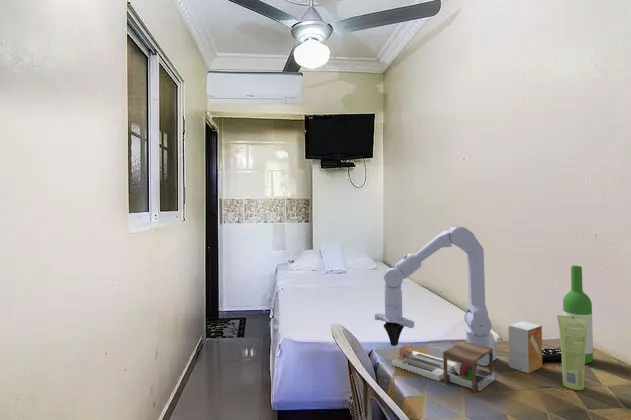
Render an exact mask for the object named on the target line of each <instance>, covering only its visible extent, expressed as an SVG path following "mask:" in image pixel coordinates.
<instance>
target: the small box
mask: <svg viewBox="0 0 631 420" xmlns="http://www.w3.org/2000/svg"><path fill="white" fill-rule="evenodd" d="M542 329H543V326H542V325H540V324H537V323H532V322H528V321H523V320H522V321H519V322H515V323H512V324H509V325H508V329H507V330H508V367H509V368H511V369H514V370H517V371H520V372H523V373H526V374H530V373H532V372H535V371H536V370H540V369H541V367H542V368H543V331H542Z"/></svg>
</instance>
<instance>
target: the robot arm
mask: <svg viewBox="0 0 631 420" xmlns="http://www.w3.org/2000/svg"><path fill="white" fill-rule="evenodd" d="M453 245H454V246H456V247H458V248H459V249H460V250H462V251H463V252H464V253H465V254H466V255H467V256H466V258H467V287H468V288H467V290H468V303H467V305H466V312H465V314H464V322H465V323H466V325H467V327H466V329H465V340H466V341H465V342H468V343H472V344H477V345H481V346H485V347H489V348H493V362H494V361H496V359H498V356H497V355H495V337H494V335H493V333H492V332H491V331H492V326H493V325H492V321H491V320H490V318H489V311H488V309H487V305H486V284H485V283H486V281H485V252H484V251H485V250H484V247H483V246H482V244H481V243H480V242H479V240H478V238H477V237H476V236H475V233H473V232H472V231H471V230H469V229H468V228H466V227H464V226H459V225H451V226H450V227H448V228H447V230H443V231H441V232H440V233H439V234H437V235H436V236H435V237H434V238H432V239H431V240H430V241H429V242H428V243H426V244H425V245H424V246H423V247H422V248H420V249H419V251H417V252H416V253H408V254H404V255H402V259H401V260H399V261H398V262H397V263H395V264H394V263H393V264H392V265H391V267H389V268H387V269H386V270H385V271H384V274H383V279H384V282H385V285H384V313H379V312H377V313H375V314H374V320H375V321H381V322H385V323H384V324H383V329H384V330H385V331H386V334H387V335H388V338H389V342H390V346H392V347H396V346H398V345H399V341H400V340H399V339H400V336H401V334H402V331H403V329H404V327H407V328H409V329H414V328H415V321H414V320H411V319H408V318H406V317H405V316H403V290H402V284H403V281H404V280H405V279H408V278H409V277H410V276H412V275H413V274H414V273H416V271H418V270H419V269H420V268H421V267H422V262H423V261H425V260H426V259H427V258H430V257H431V256H432V255H433V254H435V253H436V252H437V251H439V250H440V249H442V248H450V247H451V248H452V247H453ZM478 363H479V364H478ZM477 364H478V366H482V367H487V366H489V354H487V355H486V356H484V357H483V358H481V359H480V360H478V361H477Z"/></svg>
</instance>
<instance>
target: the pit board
mask: <svg viewBox="0 0 631 420" xmlns="http://www.w3.org/2000/svg"><path fill="white" fill-rule="evenodd" d="M413 354H414V355H417V356H421V357H424V358H428V359H431V360H435V361H438V362H442V363H444V362H443V358H441V357H436V356H434V355H429V354H426V353H422V352H419V351H416V350H413ZM407 363H408V364H407ZM455 363H456V362H455V361H452V360H448V359H447V364H448V365H452V366H454V364H455ZM392 365H393V367H395V366H397V367H396V368H398V367H400V368H399V369H401V368H402V369H401V370H404V369H406V370H405V371H407V370H408V371H407V372H410V371H411V373H413V372H414V374H416V373H417V375H419V374H420V376H423V377H425V378H429V379H432V380H435V381H438V382H440V381H442V380H443V372H444V368H441V367H437V366H434V365H431V364H427V363H424V362H421V361H417V360H414V359H411V358H407V357H405V358H403V359H401V358H400V356H399V357H397V358H395V359H393V360H391V366H392Z"/></svg>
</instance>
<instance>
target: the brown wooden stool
mask: <svg viewBox="0 0 631 420" xmlns="http://www.w3.org/2000/svg"><path fill="white" fill-rule="evenodd" d="M442 354H443V356H442V357H443V358H442V359H443V362H444V380H443V383H444V384H448V383H449V381H448V372H447V360H448V361H451V362H455V363H456V362H459V363H462V364H466V365H469V366H472V390H471V392H472V393H474V394H475V393H476V392H477V390H476V382H477V378H476V376H477V375H476V364H475V362H477V361H478V360H480V359H481V358H483V357H484V356H486V355H487V354H489V364H488V367H489V368H488V369H489V370H488V371H491V372H494V361H493V348H489V347H485V346H481V345H477V344H472V343H468V342H466V341H463V340H462V341H461V342H458V343H457V344H455V345H454V346H452V347H449V348H448V349H446V350H444V351H443V352H442Z"/></svg>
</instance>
